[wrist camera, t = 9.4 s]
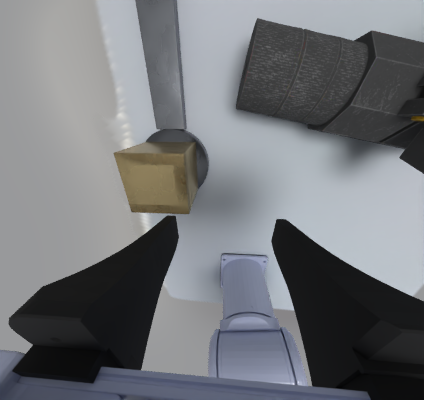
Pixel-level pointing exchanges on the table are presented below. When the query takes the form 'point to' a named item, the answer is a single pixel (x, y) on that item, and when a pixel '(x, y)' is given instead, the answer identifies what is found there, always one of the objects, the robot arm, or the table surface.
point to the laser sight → (339, 84)
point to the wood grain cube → (159, 176)
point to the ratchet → (167, 75)
